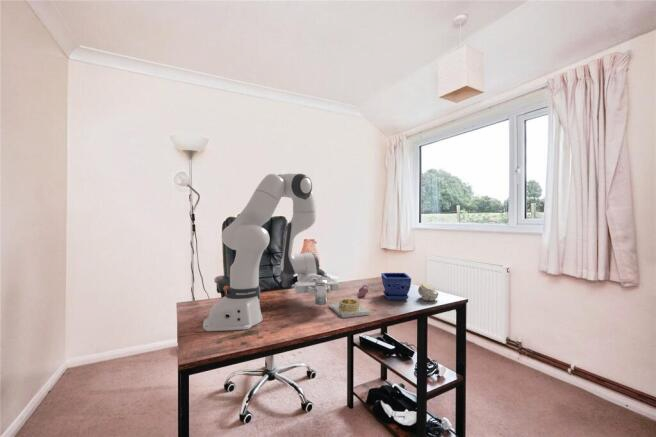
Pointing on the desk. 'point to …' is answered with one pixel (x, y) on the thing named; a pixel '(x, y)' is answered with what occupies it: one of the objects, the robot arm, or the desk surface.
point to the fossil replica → (427, 292)
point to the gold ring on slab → (349, 308)
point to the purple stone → (363, 290)
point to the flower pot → (396, 285)
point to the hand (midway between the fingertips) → (321, 291)
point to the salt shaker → (321, 292)
